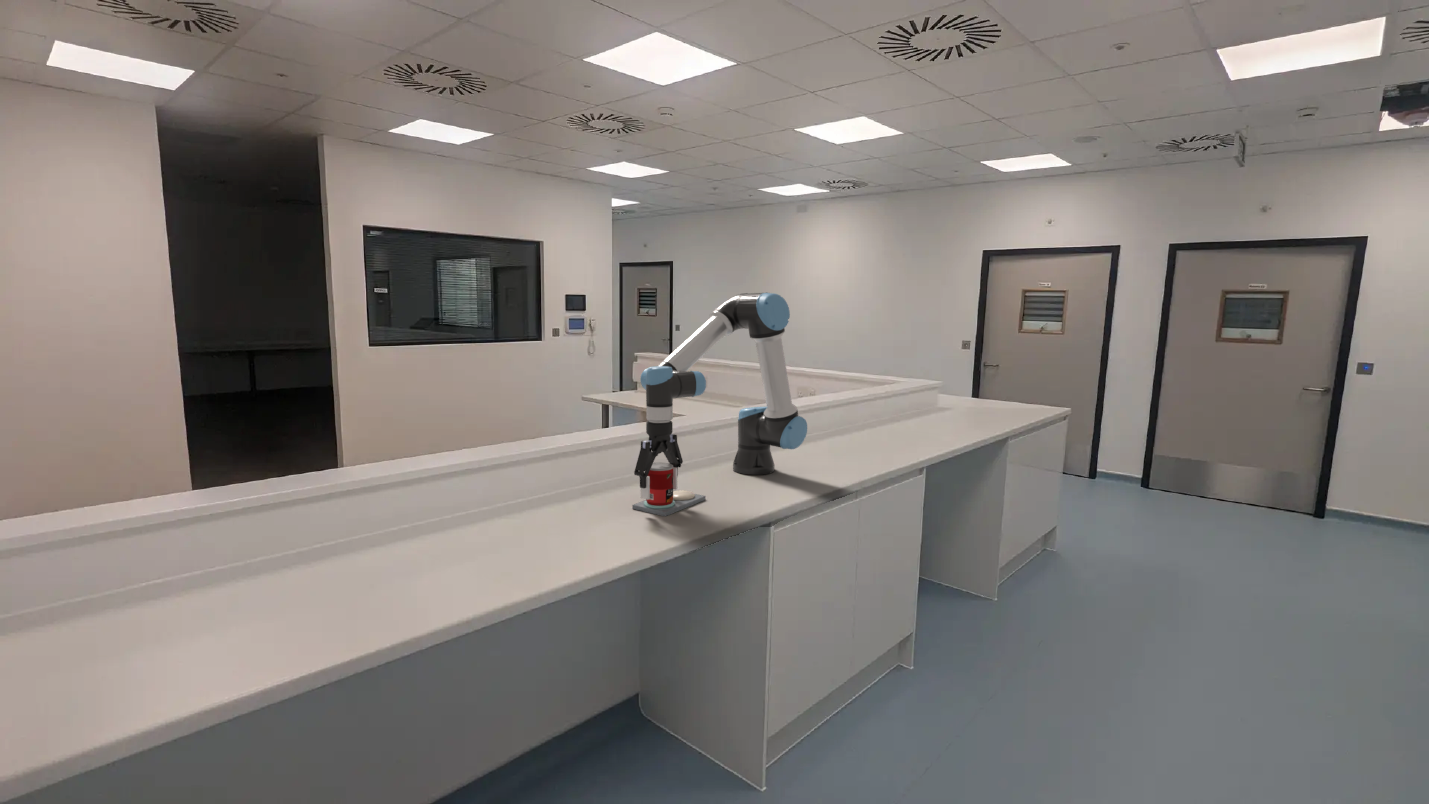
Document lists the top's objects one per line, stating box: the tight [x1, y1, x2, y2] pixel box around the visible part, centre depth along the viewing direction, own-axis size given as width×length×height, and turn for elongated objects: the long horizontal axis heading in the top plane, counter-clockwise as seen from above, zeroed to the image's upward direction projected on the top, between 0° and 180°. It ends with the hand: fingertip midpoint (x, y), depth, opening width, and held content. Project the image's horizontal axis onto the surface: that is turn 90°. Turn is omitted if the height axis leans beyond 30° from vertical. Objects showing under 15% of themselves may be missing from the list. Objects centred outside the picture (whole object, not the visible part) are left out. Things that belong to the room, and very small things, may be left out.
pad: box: [643, 500, 675, 509], centre depth 189 cm, size 9×9×1 cm
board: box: [631, 489, 707, 517], centre depth 194 cm, size 20×12×2 cm, turn 146°
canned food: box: [645, 462, 674, 506], centre depth 189 cm, size 8×8×11 cm
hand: (659, 493), depth 189 cm, fingers open, 12 cm apart
